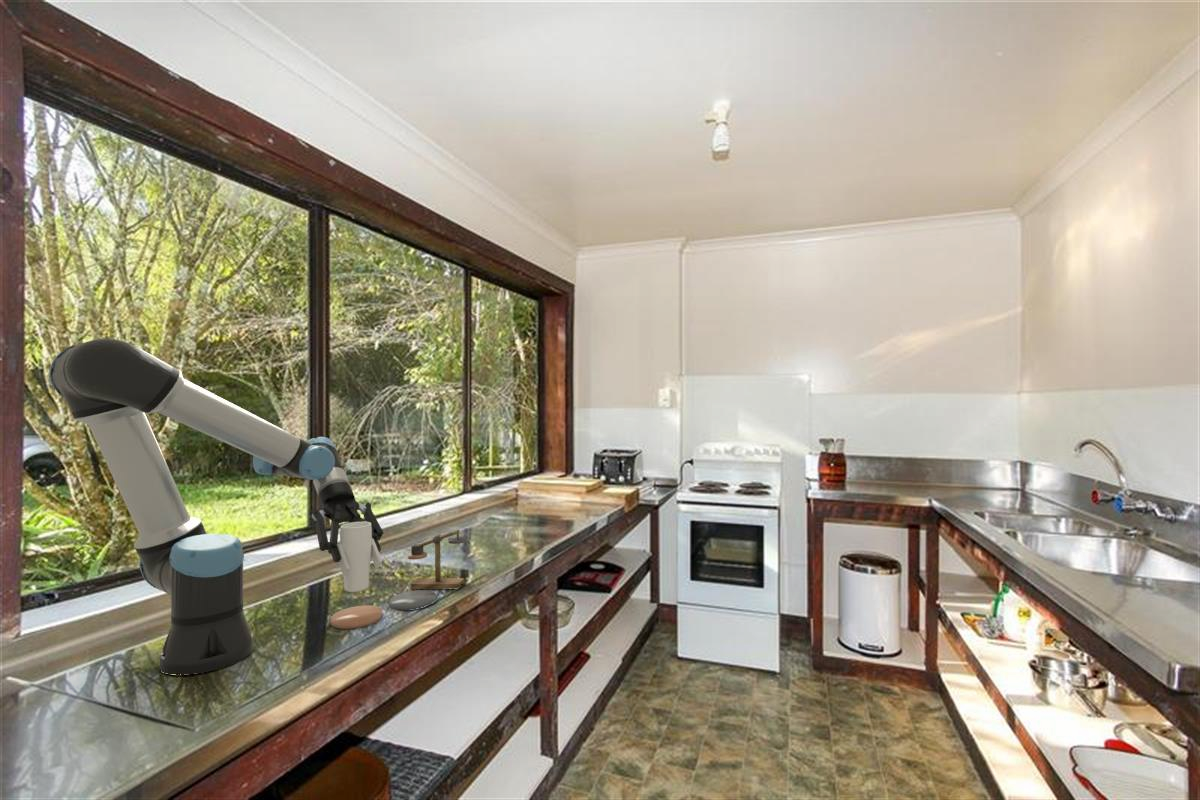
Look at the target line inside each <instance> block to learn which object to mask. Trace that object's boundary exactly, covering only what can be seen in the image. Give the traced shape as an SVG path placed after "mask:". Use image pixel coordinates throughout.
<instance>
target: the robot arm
mask: <svg viewBox="0 0 1200 800" xmlns="http://www.w3.org/2000/svg"><path fill="white" fill-rule="evenodd" d="M48 374H49V381H50V383H51V386H52V387H53V389H54V390H55V391H56V393H58V394H59V395H60V396H61V397H63V399H64V401H65V402H66V404H67V408H68V409H69V411H70V413H71V416H72V417H73V419H74V421H76V422H79V423H83V424H85V425H87V426H88V428H90V431H91V433H92V435H93V438H94V440H95V442H96V444H97V446H98V448H99V450H100V452H101V454H102V457H103V459H104V461H105V463H106V465H107V467H108V470H109V472H110V474H111V476H112V479H113V481H114V482H115V484H116V485H115V486H116V487H117V489H118V491H119V493H120V497H122V500H123V502H124V505H125V506H126V509H127V511H128V513H129V515H130V517H131V519H132V521H133V524H134V525H135V528H136V530H137V532H138V533H139V534H138V537H137V539H136V540H135V542H134V544H133V547H134V548H135V551H136V553H137V555H138V558H139V570H140V573H141V576H142V578H143V580H144V581H145V582H146V583H147V584H148V585H150V586H151V587H153V588H155V589H157V590H159V591H162V592H164V593H165V594H168V595H169V596H170V628H169V630H168V633H167V636H166V639H165V641H164V644H163V648H162V651H161V653H160V655H159V671H160V670H161V671H162V672H164V673H168V674H176V675H180V674H181V675H184V674H194V673H201V674H205V673H204V672H206V673H210V672H214V671H217V670H221V669H224V668H226V667H228V666H231V665H234V664H236V663H238V662H240V661H242V660H244V659H245V658H247V657H248V656H249V655H251V654H252V653H253V651H254V648H255V646H254V641H255V640H254V634H253V632H251V629H250V627H249V624H248V620H247V618H246V615H245V613H244V560H245V559H244V558H245V554H244V551H243V544H242V541H241V540H240V539H239V538H238V537H237V536H234V535H231V534H225V533H223V534H220V533H207V531H206V529H205V527H204V525H203V522H202V520H201V518H199V517H194V516H191V515H190V514H189V512H188V510H187V507H186V504H185V502H184V500H183V499H182V496H181V494H180V491H179V489H178V486H177V483H176V482H175V479H174V477H173V475H172V473H171V471H170V468H169V466H168V464H167V463H168V462H166V459H165V456H164V455H163V452H162V450H161V448H160V445H159V442H158V441H157V439H156V436H155V433H154V431H153V429H152V426H151V425H150V422H149V420H148V417H147V416H146V414H147V415H150V414H154V413H158V414H160V415H162V416H165V417H166V418H167V417H168V418H169V419H171V420H174V421H176V422H178V423H181V424H182V425H185V426H187V427H189V428H191V429H193V430H196V431H198V432H200V433H203V434H204V435H207V436H209V437H212V438H214V439H216V440H218V441H220V442H223V443H225V444H227V445H230V446H232V447H234V448H236V449H238V450H241V451H242V452H245V453H246V454H249V455H252V456H253V457H252V467H253V469H254V471H255V473H257V474H259V475H263V476H264V475H265V476H286V477H292V478H300V479H306V480H309V481H312V484H313V485H314V489H315V491H316V494H317V496H318V497H317V498H318V500H319V503H320V505H321V508H322V509H320V510H318V509H315V510H313V512H312V514H311V517H310V519H311V521H312V522H313V524H314V526H315V531H316V536H317V541H318V546H319V550H320V552H325V551H327V553H328V554H330V555H331V557H332V560H333V562H334V563H338V565H339V569H340V570H341V573H342V576H343V577H344V576H346V575H347V574H348V572H349V570H350V567H349V564H348V561H347V559H346V556H345V553H344V550H343V547H342V545H340V544H338V539H339V532H340V530H339V529H340V524H342V523H352V522H370V523H371V526H372V547H371V560H372V563H373V566H374V568H375V569H379V568H380V566H381V564H382V563H383V560H382V557H381V554H380V553H381V551H382V548H381V545H380V543H379V541H380V540H381V539H382V536H383V535H384V530H383V529H382V527H381V525H380V523H379V521H378V519H377V518H376V515H375V514H374V512H373V510H372V504H371V503H370V502H366V503H365V504H359V502H358V501H357V500H356V498H355V494H354V491H353V489H352V486H351V485H350V481H349V479H348V476H347V474H346V471H345V469H344V466H343V464H342V461H341V458H340V454H339V452H338V451H339V450H337V448H336V445H335V444H334V442H333V441H332V439H330V438H328V437H324V436H318V437H316V438H315V437H314V438H311V439H309V440H307V441H306V440H304V439H302V438H300V437H298V436H296V435H294V434H293V433H290V432H289V431H287V430H285V429H282V428H280V427H279V426H277V425H275V424H273V423H271V422H269V421H267V420H265V419H263V418H261V417H259V416H257V415H256V414H253V413H251V412H249V411H248V410H246V409H244V408H241V407H240V406H238V405H236V404H234V403H232V402H230V401H228V400H226V399H224V398H222V397H221V396H218V395H217V394H215V393H213V392H211V391H209V390H206V389H205V388H204V387H201V386H199V385H197V384H194V383H193V382H191V381H189V380H187V379H186V378H184V377H183V372H182V371H181V370H179V369H178V368H176V367H174V366H173V365H170V364H168V363H167V362H165V361H163V360H161V359H160V358H157V356H154V355H152V354H150V353H149V352H147V351H145V350H143V349H141V348H140V347H139V346H136V345H134V344H131V343H129V342H126V341H125V340H120V339H116V338H97V339H96V338H95V339H92V340H91V339H90V340H88V341H85V342H80V343H78V344H73V345H70V346H68V347H67V348H65V349H63V350H61V352H59V353H57V355H56V356H55V358H54V359H53V361H52V362H51V364H50V368H49V373H48ZM359 511H360V513H361V514H360V513H359ZM361 515H362V516H363V518H364V519H365V520H364V519H363V518H362V517H361ZM324 517H325V518H327V519H329V520H330V521H331V522H330V535H329V539H328V536H327V535H328V534H327V530H326V526H325V525H326V524H325V519H324ZM213 670H214V671H213ZM209 671H210V672H209ZM202 672H203V673H202Z"/></svg>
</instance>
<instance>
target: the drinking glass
mask: <svg viewBox="0 0 1200 800" xmlns="http://www.w3.org/2000/svg"><path fill="white" fill-rule="evenodd" d="M339 529H340V530H339V542H340V543H339V545H342V547H343V550H344V553H345V556H346V559H347V561H348V564H349V567H350V570H349V572H348V574H347V575H346V576H343V589H344V591H346V592H348V593H359V592H362V591H365V590H367V589H368V588H369V586H370V572H371V571H370V569H371V560H372V558H371V547H372V526H371V523H370V522H366V521H365V522H352V523H349V522H345V523H344V524H342V525H339Z"/></svg>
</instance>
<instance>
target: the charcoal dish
mask: <svg viewBox="0 0 1200 800" xmlns="http://www.w3.org/2000/svg"><path fill="white" fill-rule="evenodd" d="M435 600H436V601H437V593H436V592H434V591H433V590H432V591H431V590H410V591H404V592H401V593H399V594H396V595H394V596H392V597H391V598H390V600H389V604H390V605H389V606H390V608H391V609H393V610H396V611H402V610H408V611H411V610H410V609H416V608H421V607H424V606H426V605H429V604H431V603H432V602H434V601H435Z"/></svg>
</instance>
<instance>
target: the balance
mask: <svg viewBox="0 0 1200 800" xmlns="http://www.w3.org/2000/svg"><path fill="white" fill-rule="evenodd" d="M459 533H460V529H455V530H452V531H451V532H447V533H444V534H441V533H439V534H436V535H435V536H433V537H432V538H431V539H428V540H426V541H424V542H420V543H415V544H413V545H411V552H410V553H408V554H407V558H408V560H421V559H422V560H423V559H425V558H427V557H428V552H426V551H424V547H425V546H428V545H430V544H434V571H435V572H434V575H435V576H434V577H418V578H417V579H415V580H414V581H412V583H411V584H410V591H415V590H416V589H444V588H458V587H460V586H461V584H462V583H463V582H464V583H465V578H463V577H460V578H459V577H457V578H456V577H455V578H454V577H453V578H452V577H450V578H449V577H441V575H442V574H441V570H442V569H441V568H442V567H441V542H442V540H444V539H446V538H448V539H447V541H448V544H451V545H459V544H465V543H467V542H468V537H466V536H460V535H459ZM454 535H456V536H454Z"/></svg>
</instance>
